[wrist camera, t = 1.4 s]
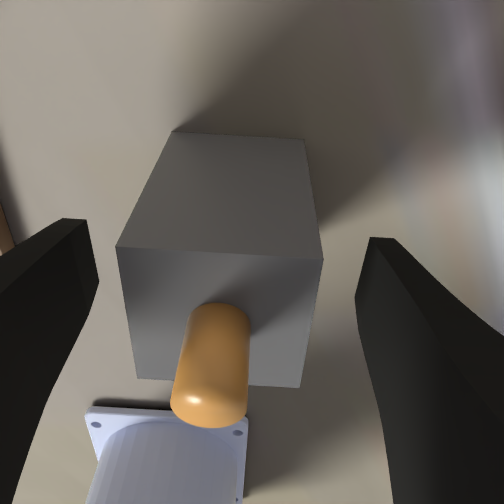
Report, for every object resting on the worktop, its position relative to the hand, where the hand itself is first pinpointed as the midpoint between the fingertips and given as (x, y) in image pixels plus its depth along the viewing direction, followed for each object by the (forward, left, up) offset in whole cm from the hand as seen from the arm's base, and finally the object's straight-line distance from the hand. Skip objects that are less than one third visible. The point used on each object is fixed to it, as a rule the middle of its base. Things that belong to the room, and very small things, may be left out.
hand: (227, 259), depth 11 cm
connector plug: (0, 0, -4) cm, 4 cm away
